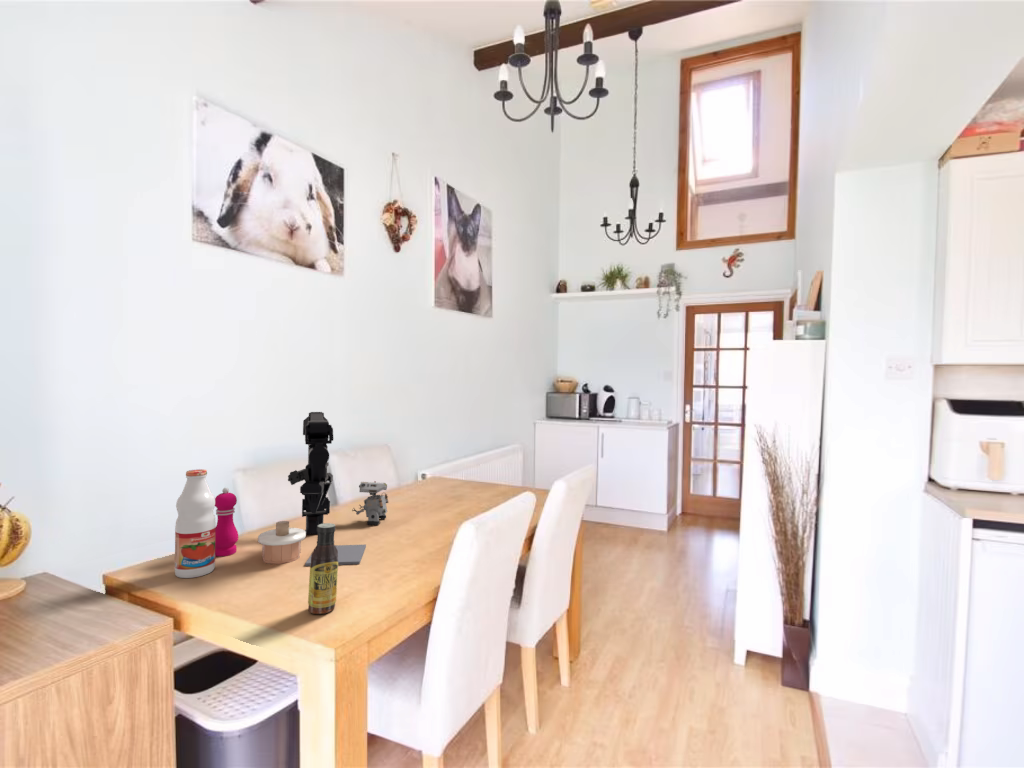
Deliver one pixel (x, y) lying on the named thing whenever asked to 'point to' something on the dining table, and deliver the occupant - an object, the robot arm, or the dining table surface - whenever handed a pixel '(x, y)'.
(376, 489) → the figurine
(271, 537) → the lid
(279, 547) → the bowl
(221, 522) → the pepper mill
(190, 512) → the fruit juice
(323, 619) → the dining table surface
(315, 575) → the sauce bottle
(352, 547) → the mat
